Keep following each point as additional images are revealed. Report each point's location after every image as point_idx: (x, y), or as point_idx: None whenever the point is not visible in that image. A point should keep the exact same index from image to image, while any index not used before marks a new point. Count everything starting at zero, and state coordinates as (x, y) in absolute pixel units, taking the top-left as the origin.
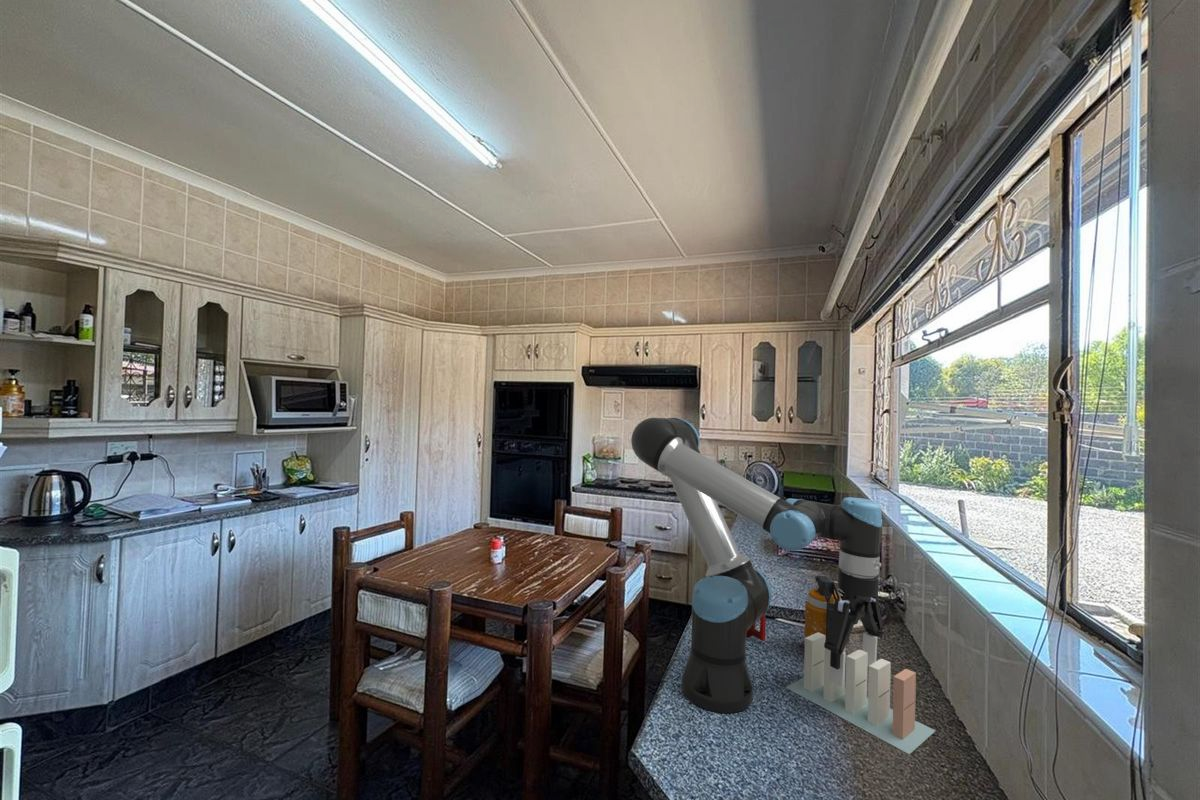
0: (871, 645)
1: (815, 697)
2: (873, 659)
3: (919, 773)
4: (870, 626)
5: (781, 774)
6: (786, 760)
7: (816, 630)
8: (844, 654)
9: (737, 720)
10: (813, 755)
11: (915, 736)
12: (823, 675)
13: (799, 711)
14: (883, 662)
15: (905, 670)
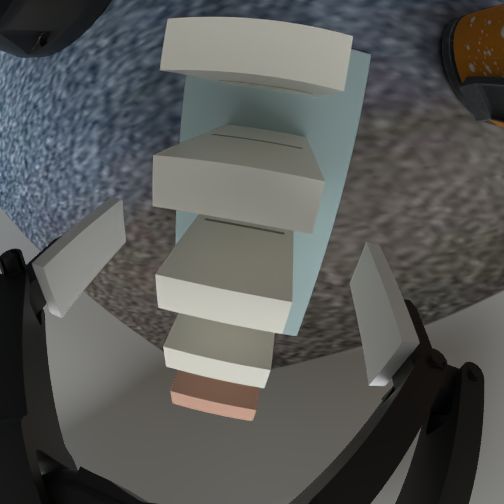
0: (369, 336)
1: (209, 107)
2: (355, 302)
3: (151, 321)
4: (360, 432)
5: (6, 191)
6: (20, 181)
7: (501, 38)
8: (56, 313)
9: (26, 74)
10: (50, 201)
11: None
12: (308, 95)
13: (124, 112)
14: (240, 375)
15: (240, 409)
